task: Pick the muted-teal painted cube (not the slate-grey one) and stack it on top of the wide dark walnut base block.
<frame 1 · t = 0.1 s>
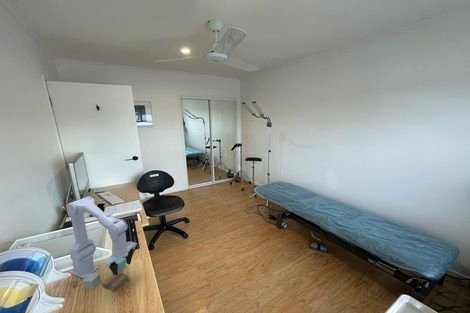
hand: (122, 268, 95), 10 cm above the table, fingers open, 7 cm apart
stone block: (125, 251, 122), on the table
walnut base block: (115, 283, 98), on the table
teal cube: (119, 268, 108), on the table
grey cube: (92, 285, 97), on the table
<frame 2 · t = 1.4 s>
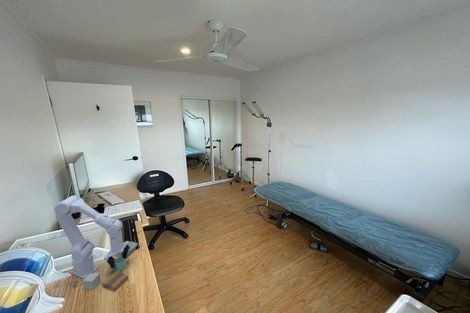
hand: (118, 263, 107), 3 cm above the table, fingers open, 7 cm apart
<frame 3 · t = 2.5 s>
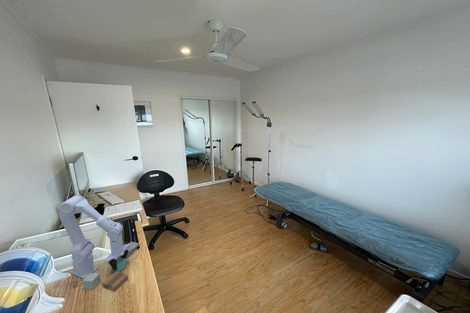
hand: (119, 266, 108), 1 cm above the table, fingers closed on teal cube, 5 cm apart
teal cube: (119, 268, 108), on the table, touching gripper
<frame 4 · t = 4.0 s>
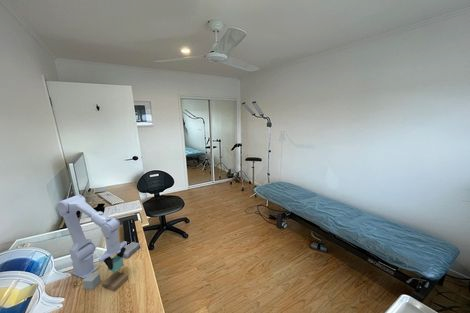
hand: (115, 264, 99), 8 cm above the table, fingers closed on teal cube, 5 cm apart
teal cube: (115, 267, 100), point 7 cm above the table, touching gripper
when the fingers open (5 cm above the table, at t = 5.8 s): teal cube stays where it is, point 3 cm above the table.
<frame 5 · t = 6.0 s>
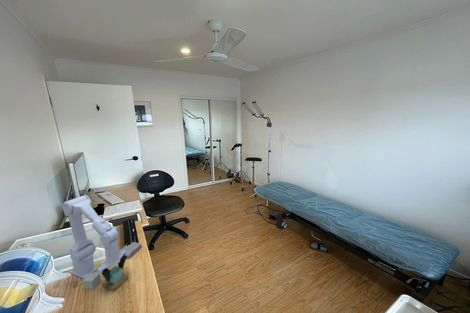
hand: (114, 274, 97), 5 cm above the table, fingers open, 7 cm apart
teal cube: (115, 278, 98), point 3 cm above the table
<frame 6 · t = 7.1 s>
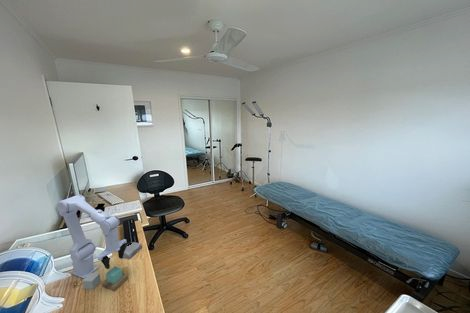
hand: (114, 262, 98), 10 cm above the table, fingers open, 7 cm apart
walnut base block: (115, 283, 99), on the table, touching teal cube
teal cube: (115, 279, 98), point 2 cm above the table, touching walnut base block
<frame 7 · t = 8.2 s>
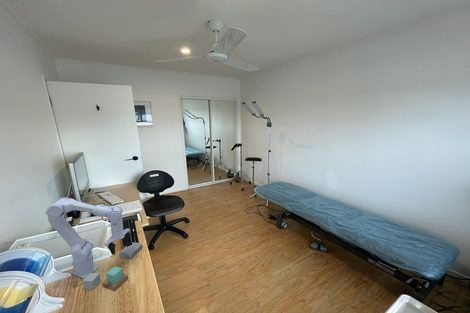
hand: (119, 249, 108), 10 cm above the table, fingers open, 7 cm apart
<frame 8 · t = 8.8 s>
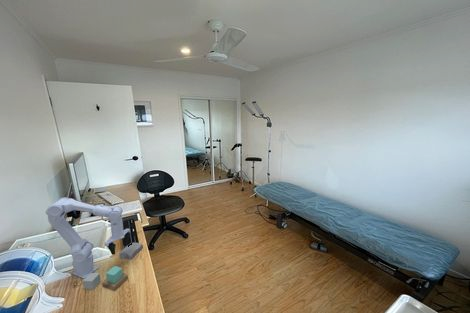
hand: (119, 249, 108), 10 cm above the table, fingers open, 7 cm apart
walnut base block: (115, 283, 99), on the table
teal cube: (115, 278, 98), point 3 cm above the table
at the end: teal cube 0.1 cm off-centre on the walnut base block, point 3.0 cm above the walnut base block's base; teal cube tilted 0°; the gripper is holding nothing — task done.
